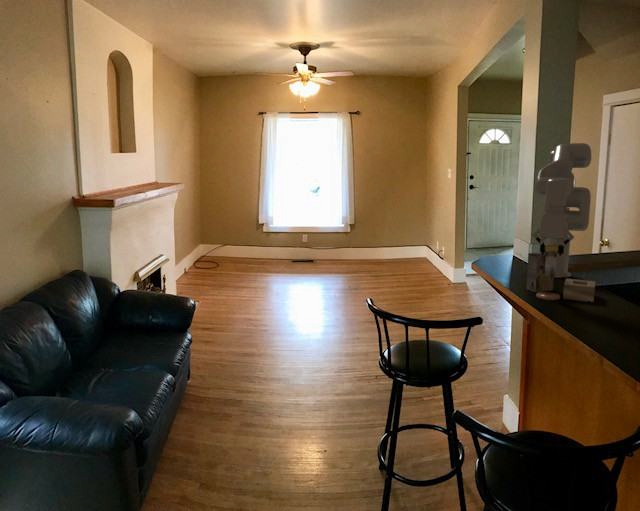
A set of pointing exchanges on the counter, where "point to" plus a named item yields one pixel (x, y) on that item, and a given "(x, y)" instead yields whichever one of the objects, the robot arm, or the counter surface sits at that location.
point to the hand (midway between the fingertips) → (551, 254)
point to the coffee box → (538, 274)
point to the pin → (551, 258)
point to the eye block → (579, 290)
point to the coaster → (548, 296)
